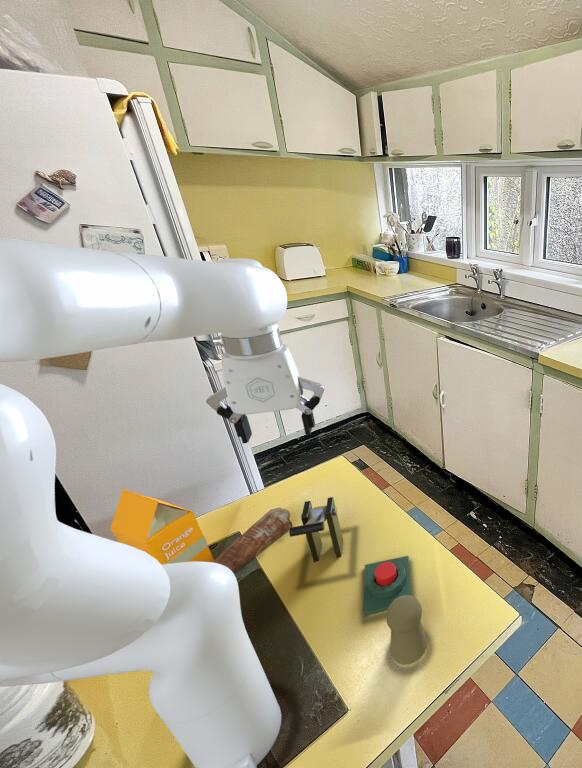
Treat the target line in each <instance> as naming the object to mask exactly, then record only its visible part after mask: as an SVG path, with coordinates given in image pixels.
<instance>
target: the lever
mask: <svg viewBox="0 0 582 768" xmlns="http://www.w3.org/2000/svg"><path fill="white" fill-rule="evenodd" d="M326 506H327V505H320V506H315V507H314V506H313V507H312V508H313V509H312V510H311V516H312V518H311V519H310V520H309V521H308V522H307V523H306V524H305V525H303V524H302V525H301V524H300V525H297V526H292V527H291V528H290V529H289V530H288V534H289V537H290V538H293V537H298V536H302V535H306V534H308V533H314V532H319V533H320V532H323V531H325V530H326V529H325V527H326V526H325V522H327V519H326V515H325V512H326Z"/></svg>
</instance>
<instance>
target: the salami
mask: <svg viewBox="0 0 582 768" xmlns="http://www.w3.org/2000/svg"><path fill="white" fill-rule="evenodd" d="M290 517H291V513H290V511H289V510H288V509H286V508H281V507H276V508H271V509H270V510H268V511H267V512H266V513H265V514H263V516H261V517H260V518H259V519H258V520H257V521H256V522H254V523H253V524H252V525H251V526H250V527H249V528H248V529H247V530H246V531H245V532H244V533H242V534H241V535H240V536H239V537H237V538H236V539H235V540H234V541H233V542H232V543H231V544H230V545H229V546H228V547H227V548H226V549H225V550H224V551H222V552H221V553H220V554H219V555H218V556H217V557H216V558H215V559H214V561H213V563H218V564H221V565H224V566H226V567H227V568H229V569H230V570H231V571H232V572H233V573H234V575H235V574H236V573H238V572H239V571H240V570H242V568H244V567H245V566H246V565H248V564H249V563H250V562H251V561H252V560H254V559H255V558H256V557H257V556H258V555H259V554H261V553H262V552H263V551H265V550H266V549H267V548H268V547H270V546H271V545H272V544H274V542H276V541H277V540H278V539H280V538H281V537H282V536H284V534H286V533H287V532H289V529H290V528H291V527H293V523H292V520H290Z"/></svg>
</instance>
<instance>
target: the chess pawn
mask: <svg viewBox="0 0 582 768" xmlns="http://www.w3.org/2000/svg"><path fill="white" fill-rule="evenodd" d="M422 615H423V608H422V605H421V603H420V601H419V600H418V598H417V597H415V596H413V595H412V596H409V595H403V596H400V597H398V598H396V599H395V600H394V601H393V602H392V603H391V604H390V605H389V607H388V609H387V611H386V615H385V620H386V625H387V626H388V628H389V629H390V656H391V657H392V659H393V661H394V662H396V663H397V664H399V665H403V666H405V665H406V666H407V665H411V664H414V663H416V662H417V661H419V660H420V659H421V658H422V657H423V656H424V654H425V653H426V650H427V647H428V639H427V638H428V637H427V635H426V632H425V630H424V627H423V624H422V621H421V620H422Z"/></svg>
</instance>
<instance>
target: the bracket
mask: <svg viewBox="0 0 582 768" xmlns="http://www.w3.org/2000/svg"><path fill="white" fill-rule="evenodd" d="M325 506H326V512H325V515H326V523H327V528H328V530H329V535H330V538H331V543H332V547H333V552H334V555H335V558H336V559H337V558H341V557H342V556H343V545H344V538H343V533H342V529H341V524H340V520H339V516H338V508H337V506H336V503H335V499H334V496H330V497H327V501H326V505H325ZM313 508H314V507H313V505H312V501H311V500H306V501H304V503H303V508H302V513H301V515H300V520H301V524H302V525H305V524H306V523H307V522H308V521H309V520H310V519H311V518H312V516H311V510H312V509H313ZM305 537H306V540H307V544H308V547H309V551H310V554H311V558H312V562H313V563H319V562H320V560H321V552H322V546H323V543H322V539H321V534H320V531H319V532H314V533H308V534H305Z"/></svg>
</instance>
